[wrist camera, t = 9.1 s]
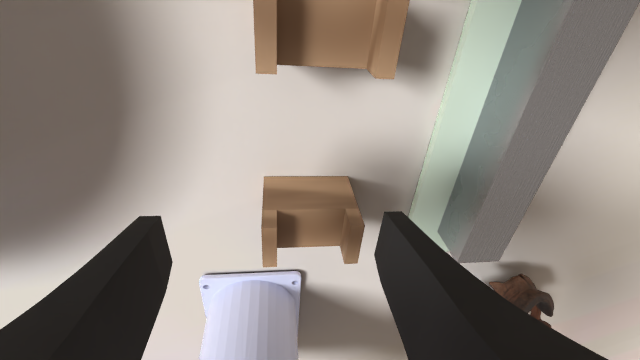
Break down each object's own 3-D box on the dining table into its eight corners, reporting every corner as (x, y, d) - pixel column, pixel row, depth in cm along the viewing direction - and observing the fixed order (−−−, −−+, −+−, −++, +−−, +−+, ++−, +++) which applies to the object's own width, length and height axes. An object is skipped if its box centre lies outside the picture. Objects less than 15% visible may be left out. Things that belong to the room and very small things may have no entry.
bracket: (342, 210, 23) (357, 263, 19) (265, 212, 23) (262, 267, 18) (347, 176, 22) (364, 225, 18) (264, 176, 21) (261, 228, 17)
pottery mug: (410, 272, 29) (498, 324, 22) (474, 231, 33) (566, 264, 26) (421, 368, 33) (499, 437, 26) (477, 320, 37) (558, 369, 30)
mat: (488, 244, 27) (492, 249, 27) (399, 247, 26) (401, 253, 26) (628, -37, 16) (639, -37, 16) (486, -52, 15) (493, -53, 15)
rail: (437, 231, 25) (475, 230, 25) (456, 263, 22) (498, 261, 23) (541, -54, 15) (600, -48, 15) (599, -59, 12) (668, -51, 13)
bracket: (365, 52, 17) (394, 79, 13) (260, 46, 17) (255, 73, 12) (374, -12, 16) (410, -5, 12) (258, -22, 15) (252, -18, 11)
